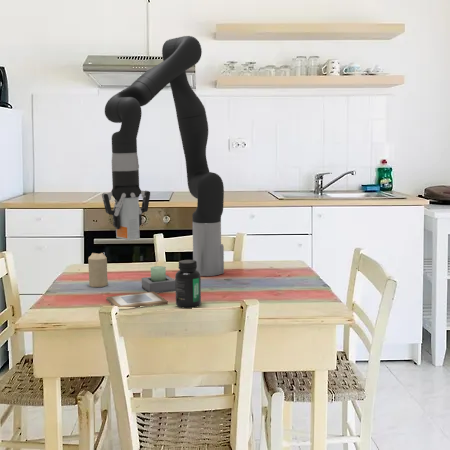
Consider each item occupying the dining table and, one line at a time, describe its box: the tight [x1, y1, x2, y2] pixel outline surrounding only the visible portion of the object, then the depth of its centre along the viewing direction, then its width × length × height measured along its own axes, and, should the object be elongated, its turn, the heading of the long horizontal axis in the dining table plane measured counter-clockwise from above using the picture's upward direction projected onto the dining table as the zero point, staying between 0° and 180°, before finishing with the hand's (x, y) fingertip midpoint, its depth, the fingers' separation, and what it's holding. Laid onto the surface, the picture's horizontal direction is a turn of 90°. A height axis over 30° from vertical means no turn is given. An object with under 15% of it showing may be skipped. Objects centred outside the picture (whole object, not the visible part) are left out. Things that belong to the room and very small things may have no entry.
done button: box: [150, 265, 167, 282], centre depth 198 cm, size 4×4×4 cm
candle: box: [87, 252, 108, 288], centre depth 204 cm, size 6×6×10 cm
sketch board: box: [105, 291, 169, 307], centre depth 185 cm, size 14×12×1 cm
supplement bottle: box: [174, 259, 202, 309], centre depth 180 cm, size 7×7×12 cm
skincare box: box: [114, 197, 141, 241], centre depth 192 cm, size 6×4×12 cm
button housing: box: [141, 274, 176, 294], centre depth 199 cm, size 8×8×3 cm
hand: (127, 227), depth 192 cm, fingers closed on skincare box, 5 cm apart
